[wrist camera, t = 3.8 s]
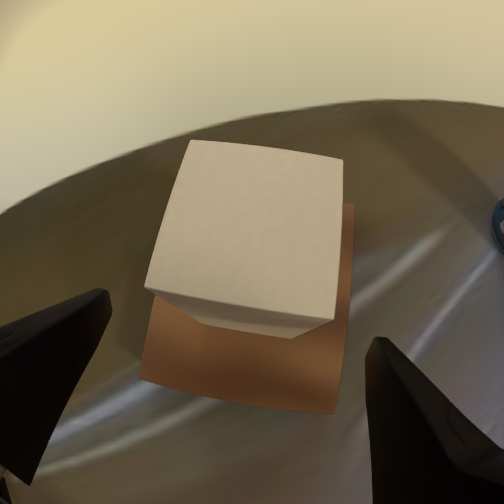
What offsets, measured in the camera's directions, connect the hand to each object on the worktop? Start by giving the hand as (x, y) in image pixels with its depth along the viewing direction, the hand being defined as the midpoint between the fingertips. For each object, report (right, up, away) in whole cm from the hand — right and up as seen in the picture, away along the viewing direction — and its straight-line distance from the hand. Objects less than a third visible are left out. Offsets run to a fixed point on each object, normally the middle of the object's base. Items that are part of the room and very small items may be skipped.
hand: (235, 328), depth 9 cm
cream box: (+1, 0, +9) cm, 9 cm away
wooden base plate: (+1, -1, +12) cm, 12 cm away
